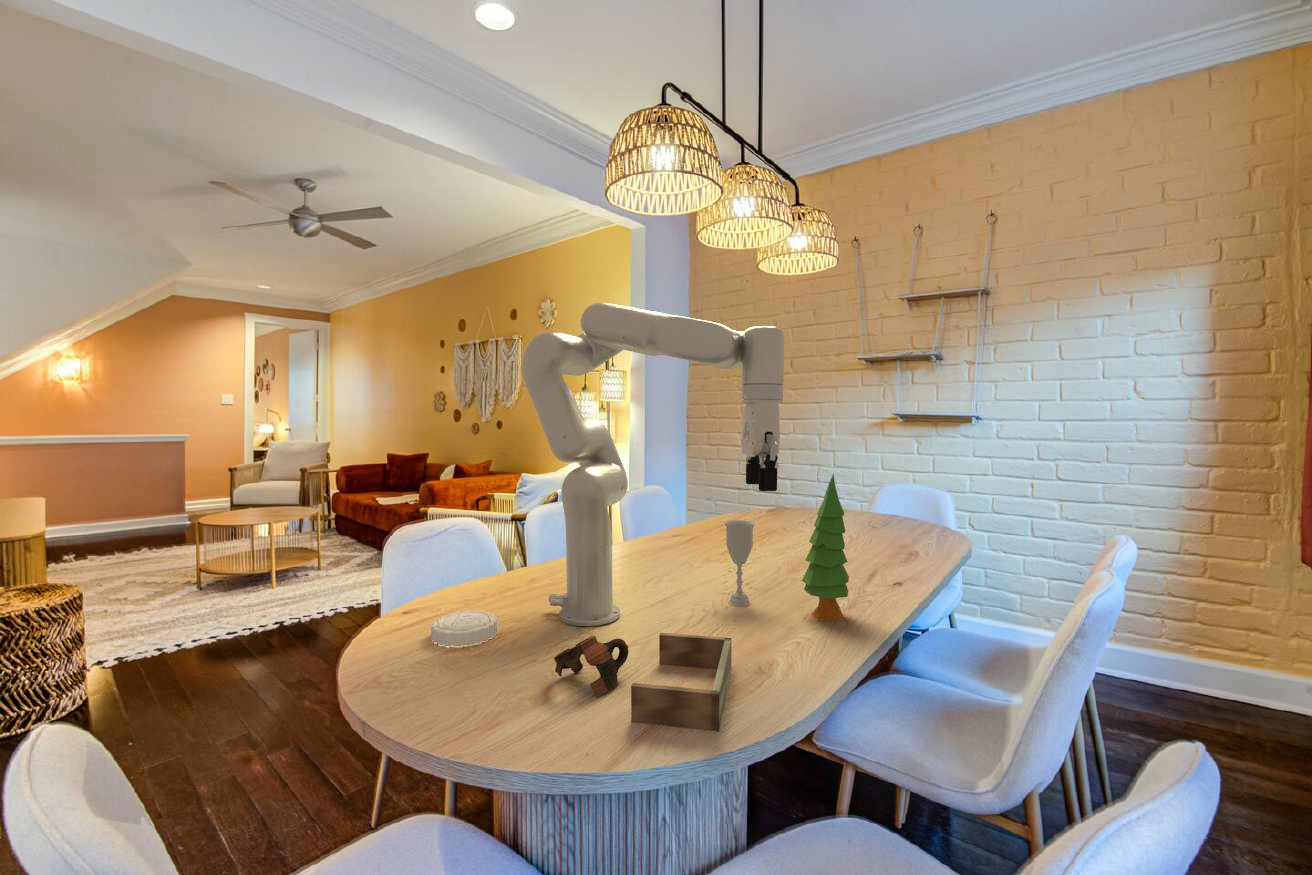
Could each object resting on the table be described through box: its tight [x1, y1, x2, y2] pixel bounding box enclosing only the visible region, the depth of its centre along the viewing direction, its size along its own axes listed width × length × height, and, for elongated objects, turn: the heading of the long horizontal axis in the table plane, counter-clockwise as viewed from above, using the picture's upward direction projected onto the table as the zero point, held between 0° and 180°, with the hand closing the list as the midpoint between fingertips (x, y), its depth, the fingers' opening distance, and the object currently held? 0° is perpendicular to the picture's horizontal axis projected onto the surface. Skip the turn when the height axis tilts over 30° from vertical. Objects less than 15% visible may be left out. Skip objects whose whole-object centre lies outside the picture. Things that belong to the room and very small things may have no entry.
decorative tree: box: [801, 473, 850, 622], centre depth 121 cm, size 10×9×30 cm
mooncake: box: [430, 610, 498, 646], centre depth 111 cm, size 12×12×4 cm
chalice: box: [723, 519, 756, 608], centre depth 130 cm, size 7×7×18 cm
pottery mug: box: [553, 635, 629, 699], centre depth 92 cm, size 12×10×8 cm
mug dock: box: [630, 632, 732, 732], centre depth 88 cm, size 12×20×5 cm, turn 168°
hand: (760, 487), depth 108 cm, fingers open, 9 cm apart
